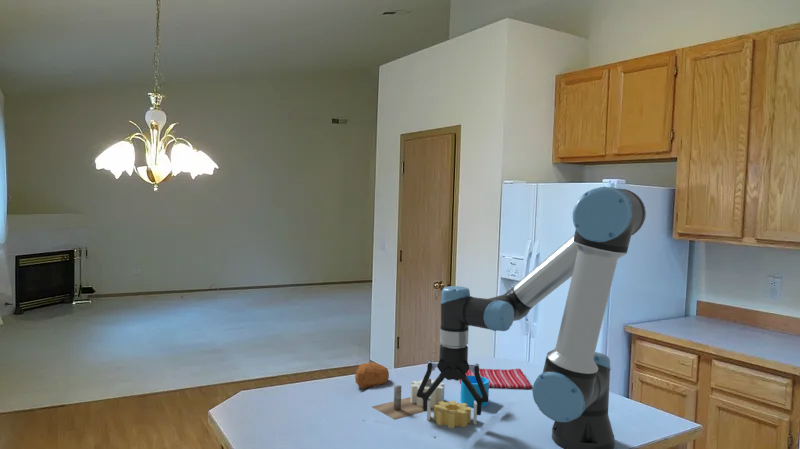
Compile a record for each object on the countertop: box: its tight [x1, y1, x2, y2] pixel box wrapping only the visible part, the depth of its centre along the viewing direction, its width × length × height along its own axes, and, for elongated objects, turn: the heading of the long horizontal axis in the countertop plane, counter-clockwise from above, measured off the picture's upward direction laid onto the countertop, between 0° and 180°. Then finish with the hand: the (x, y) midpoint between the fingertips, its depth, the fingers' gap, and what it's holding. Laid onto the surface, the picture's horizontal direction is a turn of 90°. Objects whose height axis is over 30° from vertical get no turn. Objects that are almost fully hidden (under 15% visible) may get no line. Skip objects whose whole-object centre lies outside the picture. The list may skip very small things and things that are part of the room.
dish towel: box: [459, 368, 533, 390], centre depth 188 cm, size 17×24×3 cm
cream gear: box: [410, 378, 445, 408], centre depth 162 cm, size 10×10×5 cm
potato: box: [354, 362, 390, 389], centre depth 178 cm, size 9×11×8 cm
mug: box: [460, 376, 490, 408], centre depth 164 cm, size 12×8×8 cm
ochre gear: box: [433, 400, 472, 429], centre depth 148 cm, size 10×10×5 cm
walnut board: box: [372, 378, 449, 420], centre depth 158 cm, size 11×21×8 cm, turn 127°
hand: (451, 424), depth 148 cm, fingers open, 12 cm apart
